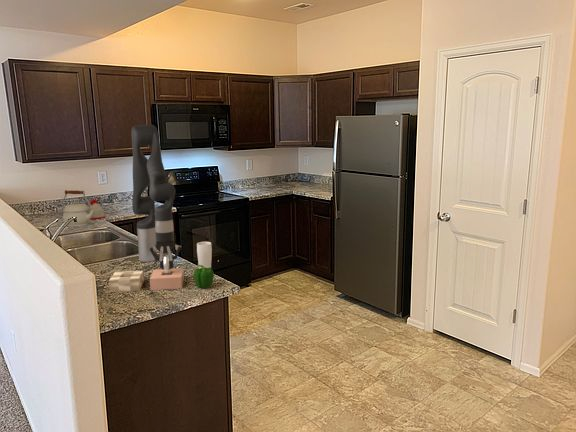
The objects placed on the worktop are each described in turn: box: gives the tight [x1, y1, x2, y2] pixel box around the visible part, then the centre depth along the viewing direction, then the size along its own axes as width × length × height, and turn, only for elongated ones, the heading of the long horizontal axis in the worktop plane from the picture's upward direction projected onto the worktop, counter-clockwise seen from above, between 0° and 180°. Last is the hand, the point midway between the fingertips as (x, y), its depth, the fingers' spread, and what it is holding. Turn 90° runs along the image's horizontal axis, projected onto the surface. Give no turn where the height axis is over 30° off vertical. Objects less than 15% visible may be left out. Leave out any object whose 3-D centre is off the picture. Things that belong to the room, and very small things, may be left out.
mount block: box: [108, 270, 145, 293], centre depth 192 cm, size 12×12×5 cm
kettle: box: [60, 189, 95, 228], centre depth 318 cm, size 25×18×25 cm
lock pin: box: [163, 254, 171, 275], centre depth 194 cm, size 3×3×12 cm
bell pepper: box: [193, 264, 215, 289], centre depth 191 cm, size 8×8×10 cm
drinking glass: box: [196, 241, 213, 269], centre depth 207 cm, size 7×7×15 cm
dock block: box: [149, 267, 185, 291], centre depth 195 cm, size 13×13×5 cm
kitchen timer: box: [87, 198, 106, 221], centre depth 343 cm, size 14×14×15 cm
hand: (166, 268), depth 194 cm, fingers closed on lock pin, 2 cm apart
